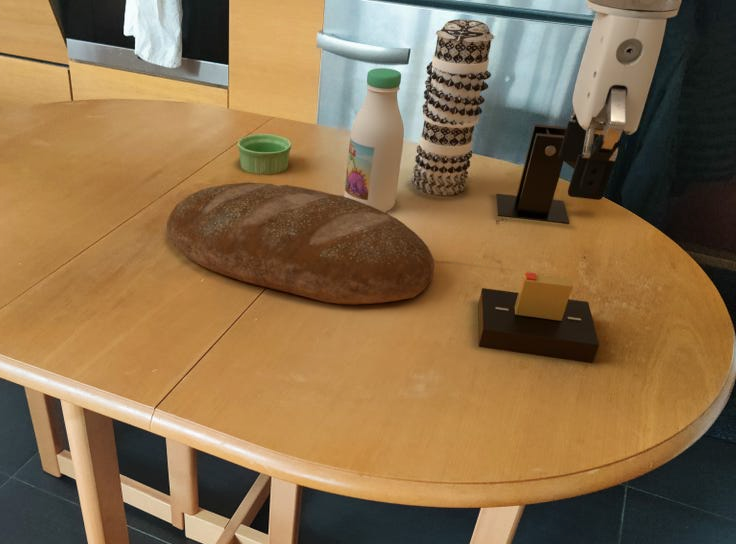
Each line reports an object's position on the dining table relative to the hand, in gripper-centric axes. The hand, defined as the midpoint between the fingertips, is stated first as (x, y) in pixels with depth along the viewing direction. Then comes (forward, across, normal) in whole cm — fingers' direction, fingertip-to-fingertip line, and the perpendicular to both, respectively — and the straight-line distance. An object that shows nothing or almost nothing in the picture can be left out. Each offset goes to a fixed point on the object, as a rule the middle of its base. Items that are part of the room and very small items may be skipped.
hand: (578, 178), depth 73 cm
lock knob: (+15, -2, 0) cm, 15 cm away
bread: (+19, +8, +30) cm, 37 cm away
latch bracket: (+18, +32, -1) cm, 37 cm away
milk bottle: (+19, +28, +23) cm, 40 cm away
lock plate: (+18, -2, 0) cm, 18 cm away
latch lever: (+11, +32, -4) cm, 34 cm away
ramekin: (+19, +38, +42) cm, 60 cm away
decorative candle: (+19, +37, +13) cm, 43 cm away
